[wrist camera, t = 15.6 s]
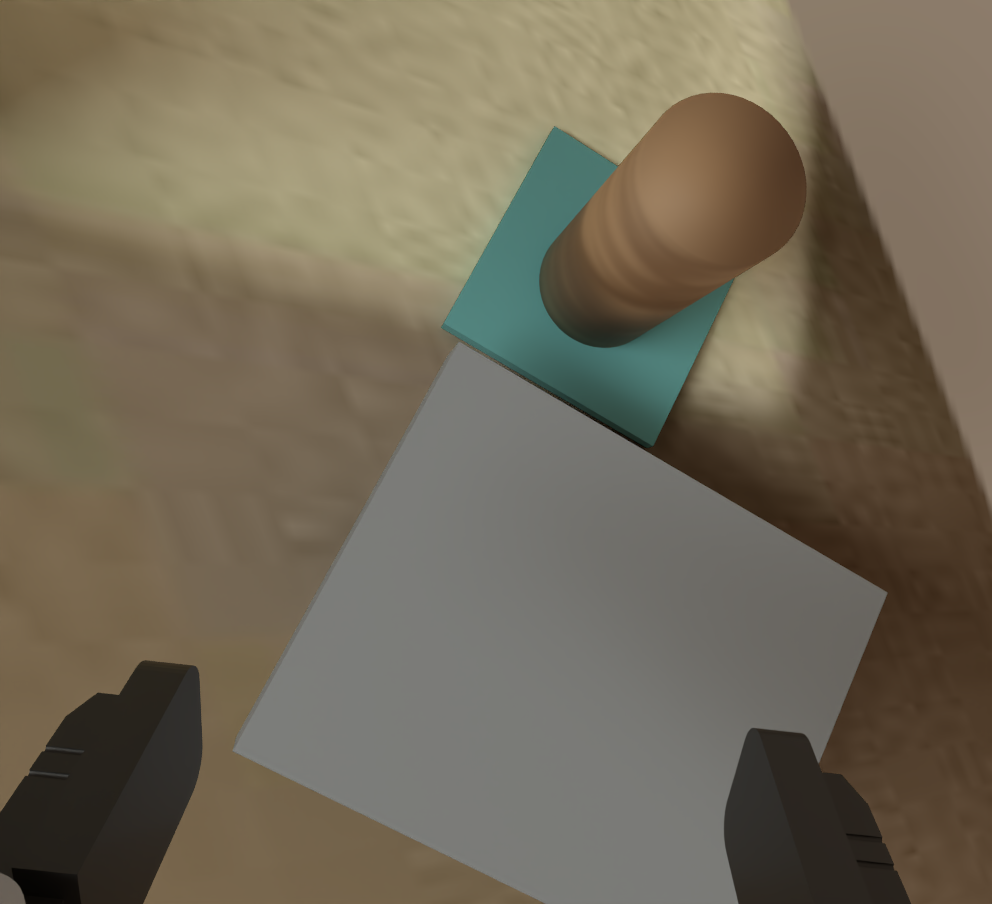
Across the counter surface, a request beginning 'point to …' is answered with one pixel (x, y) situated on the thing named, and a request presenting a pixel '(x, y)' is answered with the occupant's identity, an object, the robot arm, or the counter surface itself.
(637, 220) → the walnut roller
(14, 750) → the counter surface
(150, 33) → the counter surface
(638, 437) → the teal pad
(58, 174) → the counter surface
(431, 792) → the grey stool
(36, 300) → the counter surface
